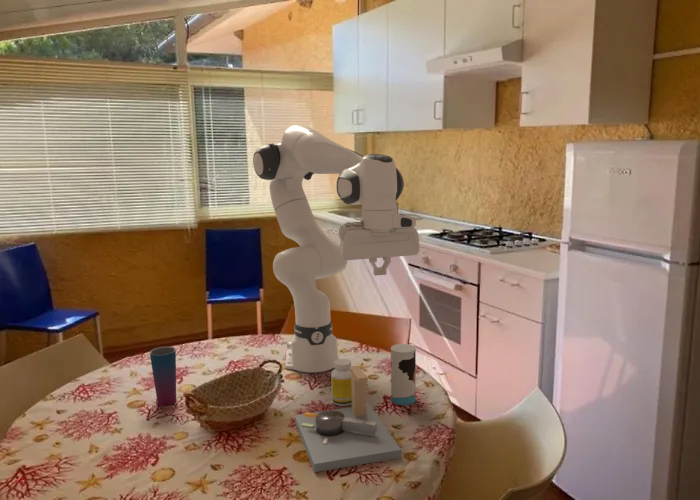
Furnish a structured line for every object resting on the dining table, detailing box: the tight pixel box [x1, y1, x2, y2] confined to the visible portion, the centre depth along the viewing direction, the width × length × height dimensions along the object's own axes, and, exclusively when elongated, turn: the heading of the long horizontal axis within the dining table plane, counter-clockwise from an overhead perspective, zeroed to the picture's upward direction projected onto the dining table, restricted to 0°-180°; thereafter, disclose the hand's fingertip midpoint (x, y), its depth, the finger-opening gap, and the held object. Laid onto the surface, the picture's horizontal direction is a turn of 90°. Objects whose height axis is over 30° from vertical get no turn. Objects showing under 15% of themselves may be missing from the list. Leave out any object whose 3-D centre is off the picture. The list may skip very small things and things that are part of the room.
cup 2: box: [390, 343, 417, 406], centre depth 160 cm, size 7×7×15 cm
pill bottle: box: [330, 358, 352, 407], centre depth 160 cm, size 6×6×12 cm
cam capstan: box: [303, 409, 377, 437], centre depth 140 cm, size 18×7×3 cm, turn 70°
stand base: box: [294, 365, 402, 473], centre depth 139 cm, size 24×20×13 cm
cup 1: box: [149, 346, 177, 407], centre depth 162 cm, size 7×7×15 cm
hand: (380, 274), depth 148 cm, fingers closed
